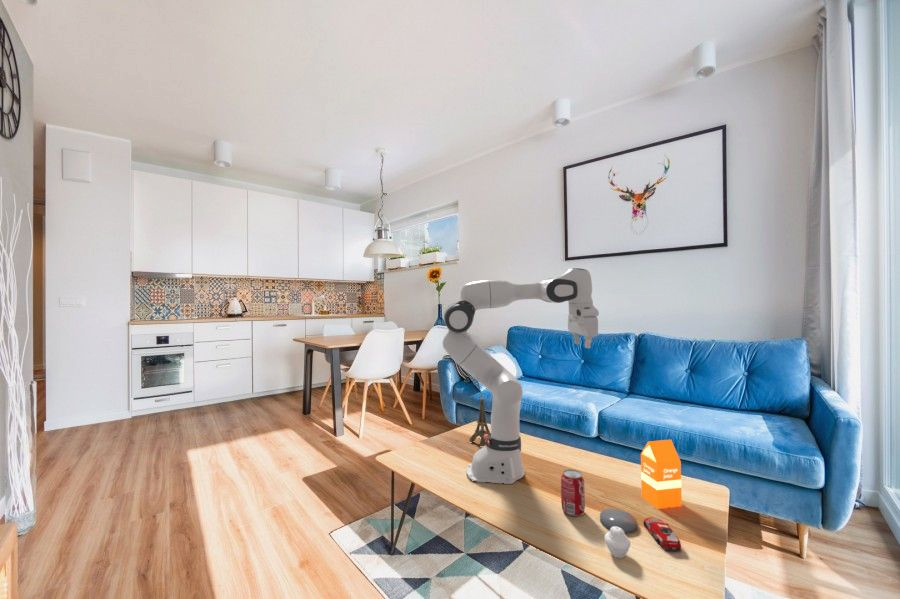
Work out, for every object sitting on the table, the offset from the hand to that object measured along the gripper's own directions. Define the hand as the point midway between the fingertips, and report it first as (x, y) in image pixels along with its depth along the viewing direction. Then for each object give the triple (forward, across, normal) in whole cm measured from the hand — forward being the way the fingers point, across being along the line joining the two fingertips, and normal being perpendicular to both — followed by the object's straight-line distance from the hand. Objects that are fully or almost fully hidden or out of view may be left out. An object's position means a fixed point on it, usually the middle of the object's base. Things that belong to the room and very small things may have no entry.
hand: (582, 345), depth 142 cm
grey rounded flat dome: (+48, +34, -5) cm, 59 cm away
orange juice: (+49, +23, +15) cm, 56 cm away
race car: (+48, +41, +3) cm, 63 cm away
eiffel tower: (+49, -34, -37) cm, 70 cm away
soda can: (+48, +27, -16) cm, 57 cm away
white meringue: (+47, +47, -12) cm, 67 cm away
